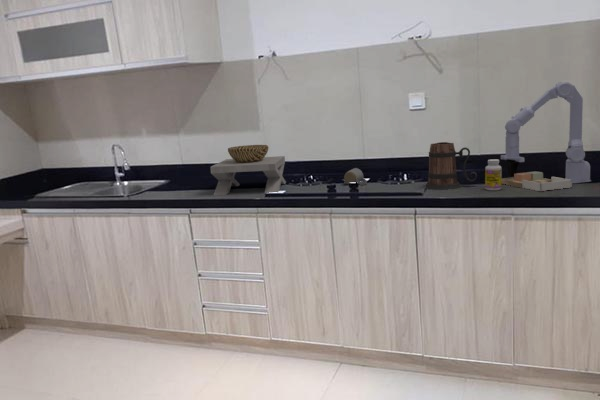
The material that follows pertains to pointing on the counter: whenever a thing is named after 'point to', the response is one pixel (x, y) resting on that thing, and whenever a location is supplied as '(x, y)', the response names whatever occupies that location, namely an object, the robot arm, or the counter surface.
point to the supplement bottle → (493, 175)
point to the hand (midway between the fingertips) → (512, 176)
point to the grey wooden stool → (248, 168)
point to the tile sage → (536, 175)
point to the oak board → (519, 184)
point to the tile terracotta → (522, 177)
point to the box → (547, 184)
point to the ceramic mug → (354, 176)
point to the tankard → (445, 167)
